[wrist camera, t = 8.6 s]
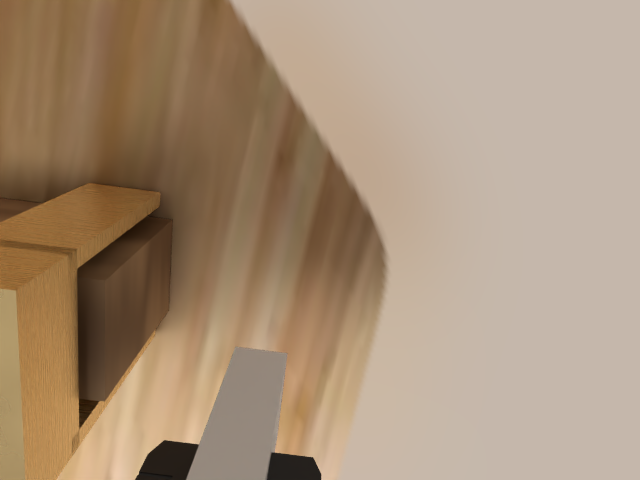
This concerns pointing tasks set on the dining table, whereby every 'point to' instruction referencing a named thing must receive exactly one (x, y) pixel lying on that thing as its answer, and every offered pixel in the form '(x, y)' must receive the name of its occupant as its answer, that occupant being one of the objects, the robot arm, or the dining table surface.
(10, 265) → the lock collar
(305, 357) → the dining table surface
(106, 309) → the base
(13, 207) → the tong arm
